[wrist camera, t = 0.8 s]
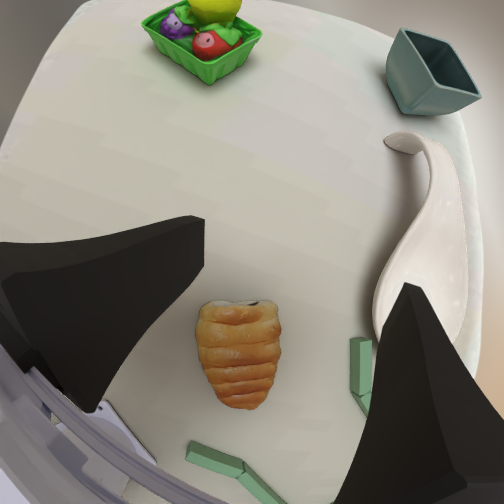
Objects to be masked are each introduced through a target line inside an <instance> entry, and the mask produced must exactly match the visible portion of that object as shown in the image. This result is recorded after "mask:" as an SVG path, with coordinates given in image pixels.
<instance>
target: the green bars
mask: <svg viewBox="0 0 504 504" xmlns="http://www.w3.org/2000/svg"><path fill="white" fill-rule="evenodd" d="M371 380H372V340H370V339H366V338H363V337H360V338H354V339H350V390H352V392H351V393H352V395H353V396H354V398H355V400H356V401H357V403H358V404H359V406H360V408H361V409H362V411H363V412H364V414H365V416H366V417H367V416H368V412H369V407H370V400H371V394H372V392H371ZM185 460H186V461H188V462H191V463H193V464H196V465H198V466H201V467H203V468H206V469H209V470H211V471H214V472H217V473H220V474H223V475H226V476H229V477H232V478H235V479H237V480H238V481H239V482H240V483H241V484H242V485H243V486H244V487H245V488H246V489H247V490H248V491H249V492H250V493H251V494H252V495H253V496H255V497H256V498H257V499H258V500H259V501H260V502H261V503H262V504H287V503H286V502H285V501H283V500H282V499H281V498H280V497H279V496H278V495H277V494H276V493H275V492H274V491H273V490H272V489H271V488H270V487H269V486H268V485H267V484H266V483H265V482H264V481H263V480H262V479H261V478H260V477H259V476H258V475H257V474H256V473H255V472H254V471H253V470H252V469H251V468H250V467H249V466H248V465H247V464H246V463H245V462H242V460H241V459H238V458H235V457H232V456H230V455H227V454H224V453H221V452H219V451H216V450H213V449H211V448H208V447H206V446H203V445H201V444H199V443H196V442H194V441H192V442H191V443H190V445H189V447H188V449H187V452H186V458H185ZM333 503H334V502H333ZM333 503H331V504H333Z"/></svg>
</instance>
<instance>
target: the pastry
mask: <svg viewBox="0 0 504 504" xmlns="http://www.w3.org/2000/svg"><path fill="white" fill-rule="evenodd" d="M277 312H278V307H277V305H276V304H275V303H273V302H272V301H259V302H258V301H244V302H237V303H230V302H228V301H225V300H219V301H215V300H214V301H211V302H208V303H207V304H205V305H204V306H203V307H202V308H201V310H200V312H199V320H198V323H197V326H196V330H195V335H196V339H197V343H198V350H199V360H200V362H201V364H202V367H203V370H204V372H205V374H206V376H207V378H208V381H209V382H210V384H211V385H212V387H213V388H214V391H215V393H216V395H217V398H218V399H219V400H220V401H221V402H222V403H224V404H225V405H227V406H229V407H231V408H238V409H247V410H254V409H256V408H257V407H258V406H259V405H260V404H261V403H262V402H263V401H264V400H265V399H266V398H267V395H268V392H269V390H270V388H271V387H272V385H273V383H274V382H273V381H274V378H275V373H276V371H277V362H278V360H279V358H280V355H281V348H280V346H279V336H280V334H281V326H280V323H279V320H278V315H277Z"/></svg>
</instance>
